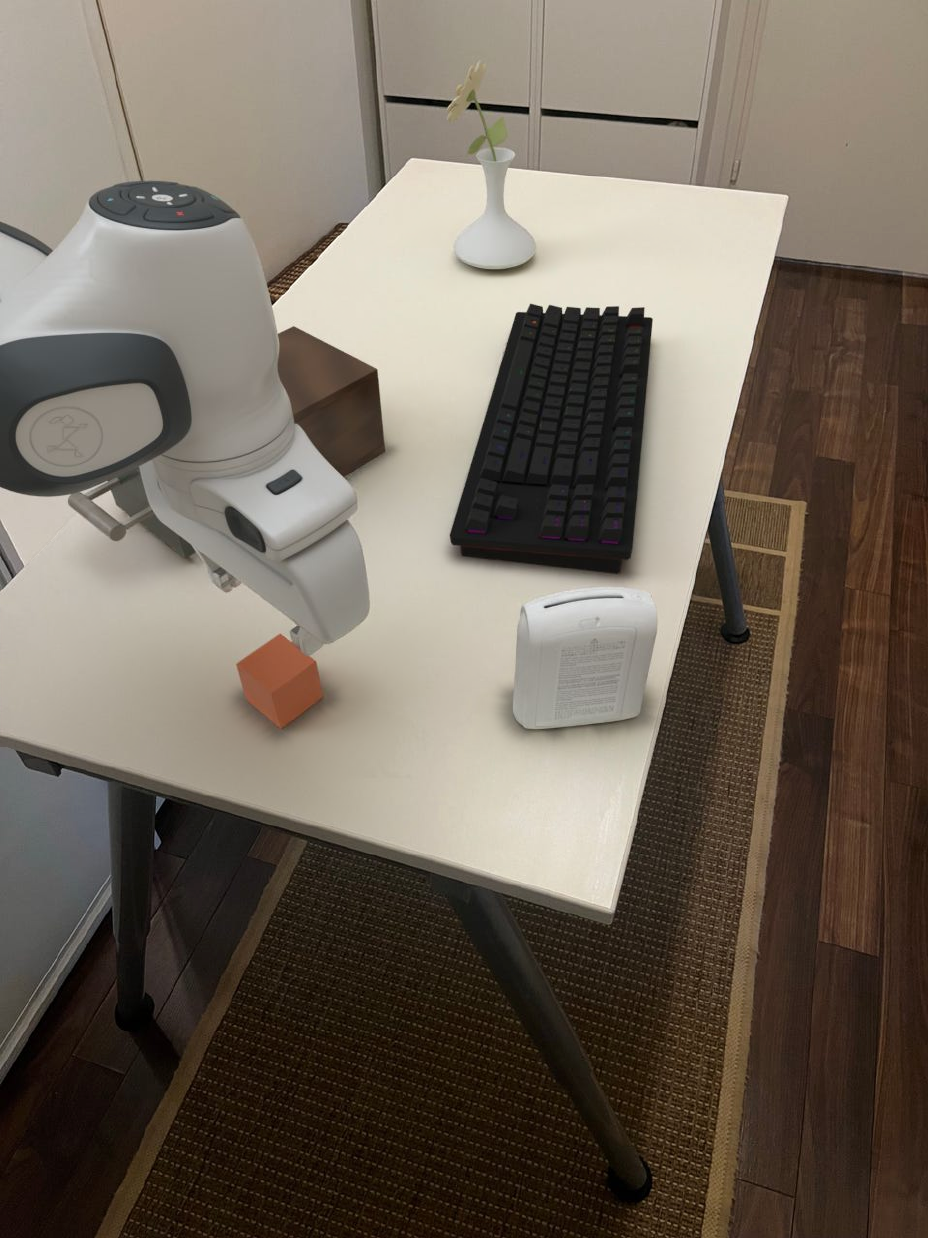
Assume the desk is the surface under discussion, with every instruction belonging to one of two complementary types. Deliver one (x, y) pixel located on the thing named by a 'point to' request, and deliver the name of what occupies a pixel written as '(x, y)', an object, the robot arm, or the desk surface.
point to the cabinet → (332, 399)
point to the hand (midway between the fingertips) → (267, 614)
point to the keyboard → (560, 443)
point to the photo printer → (583, 656)
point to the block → (280, 680)
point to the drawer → (127, 511)
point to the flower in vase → (490, 193)
